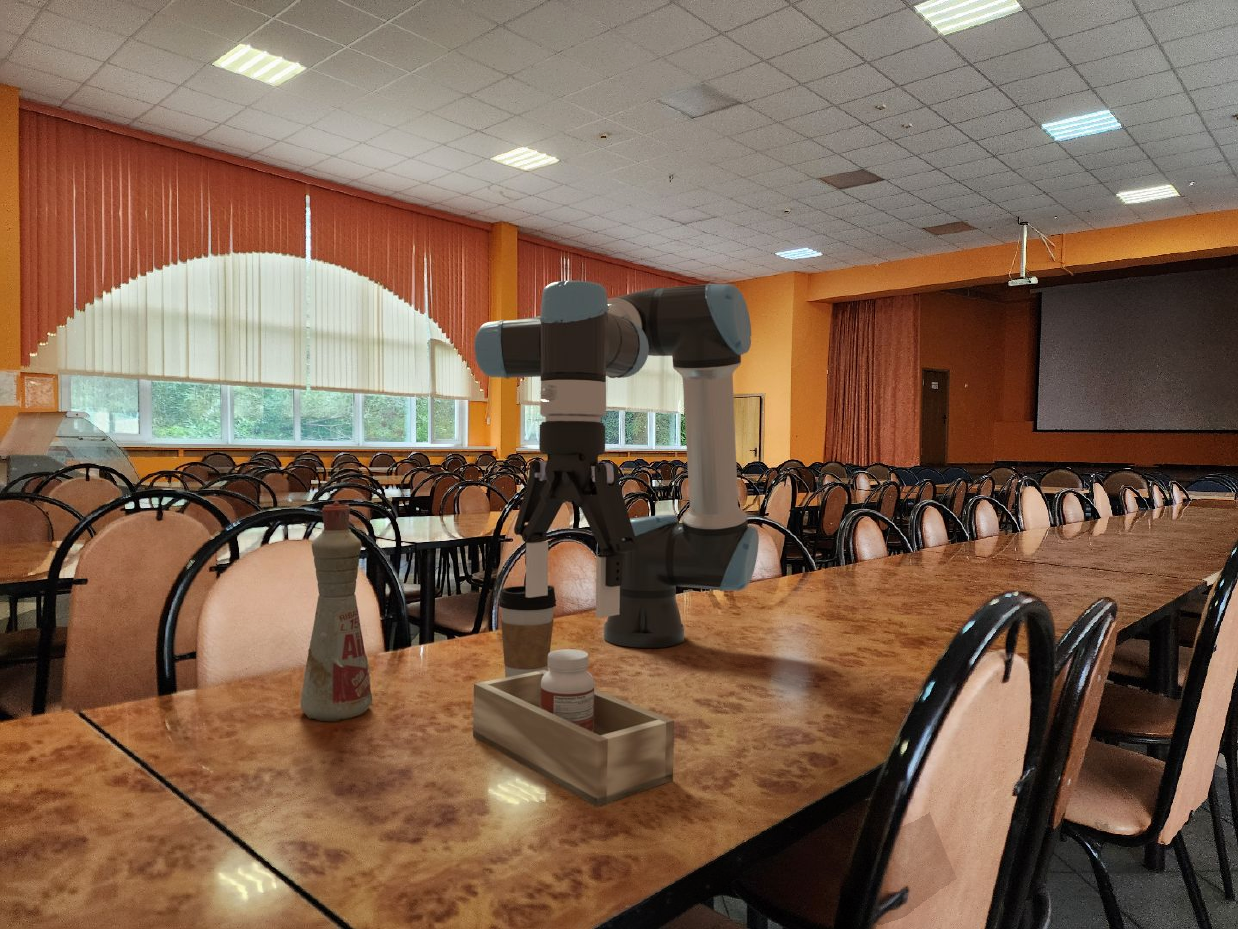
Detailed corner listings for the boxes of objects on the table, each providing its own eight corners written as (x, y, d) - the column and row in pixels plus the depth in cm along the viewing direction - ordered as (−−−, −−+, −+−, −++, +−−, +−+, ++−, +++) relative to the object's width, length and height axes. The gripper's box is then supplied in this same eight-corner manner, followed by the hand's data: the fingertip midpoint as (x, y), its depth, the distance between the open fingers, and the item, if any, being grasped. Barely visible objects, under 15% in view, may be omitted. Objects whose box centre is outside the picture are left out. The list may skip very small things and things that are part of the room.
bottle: (315, 700, 110) (318, 498, 110) (380, 702, 110) (383, 499, 109) (287, 722, 102) (290, 502, 101) (358, 724, 101) (361, 503, 101)
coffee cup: (545, 699, 113) (547, 593, 113) (488, 694, 115) (490, 590, 114) (561, 682, 121) (563, 584, 121) (508, 678, 123) (510, 581, 123)
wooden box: (543, 719, 104) (544, 669, 104) (672, 780, 86) (674, 720, 86) (472, 736, 98) (473, 683, 98) (597, 807, 79) (598, 741, 79)
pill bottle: (542, 739, 95) (544, 646, 95) (594, 740, 95) (595, 647, 95) (536, 759, 89) (538, 660, 89) (592, 761, 89) (594, 661, 88)
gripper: (487, 420, 98) (485, 592, 99) (617, 417, 79) (614, 630, 80) (538, 422, 103) (536, 586, 104) (672, 419, 84) (669, 620, 84)
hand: (570, 605), depth 92 cm, fingers open, 13 cm apart
